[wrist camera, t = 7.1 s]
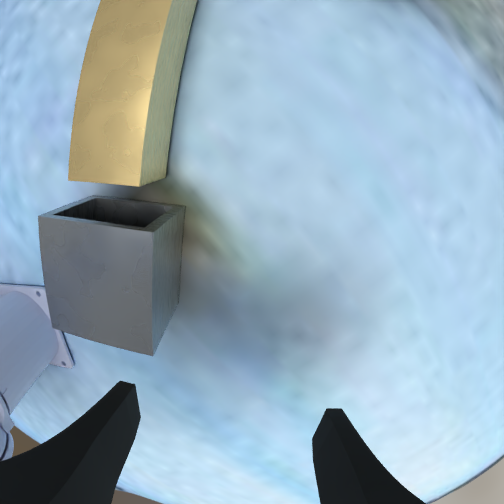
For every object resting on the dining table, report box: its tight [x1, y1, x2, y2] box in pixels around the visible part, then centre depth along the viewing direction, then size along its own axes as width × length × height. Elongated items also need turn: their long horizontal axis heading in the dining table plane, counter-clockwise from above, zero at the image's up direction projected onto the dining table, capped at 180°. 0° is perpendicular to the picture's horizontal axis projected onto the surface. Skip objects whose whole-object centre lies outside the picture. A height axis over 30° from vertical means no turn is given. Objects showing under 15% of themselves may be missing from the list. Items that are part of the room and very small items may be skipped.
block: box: [68, 0, 197, 187], centre depth 12 cm, size 16×4×4 cm, turn 171°
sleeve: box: [38, 195, 186, 356], centre depth 16 cm, size 6×6×6 cm
